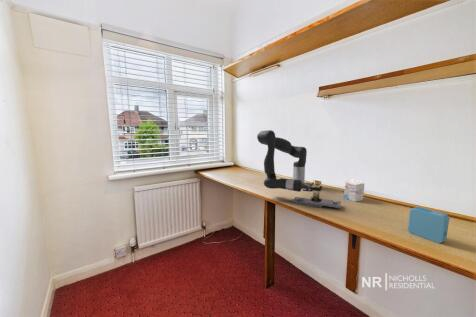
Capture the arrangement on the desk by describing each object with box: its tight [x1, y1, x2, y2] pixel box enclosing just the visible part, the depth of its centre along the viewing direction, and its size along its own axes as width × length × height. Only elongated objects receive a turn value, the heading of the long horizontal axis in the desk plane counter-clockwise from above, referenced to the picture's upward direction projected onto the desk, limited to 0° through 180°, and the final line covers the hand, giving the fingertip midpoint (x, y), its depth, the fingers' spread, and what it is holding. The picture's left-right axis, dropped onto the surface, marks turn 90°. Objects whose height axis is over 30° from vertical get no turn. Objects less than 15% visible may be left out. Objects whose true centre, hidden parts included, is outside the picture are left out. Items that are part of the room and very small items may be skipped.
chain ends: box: [291, 196, 342, 209], centre depth 131 cm, size 28×9×4 cm, turn 61°
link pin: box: [312, 180, 322, 201], centre depth 130 cm, size 5×5×12 cm
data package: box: [407, 206, 450, 244], centre depth 91 cm, size 12×4×12 cm, turn 30°
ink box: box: [343, 178, 365, 202], centre depth 139 cm, size 9×8×13 cm
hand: (321, 188), depth 128 cm, fingers closed on link pin, 4 cm apart
